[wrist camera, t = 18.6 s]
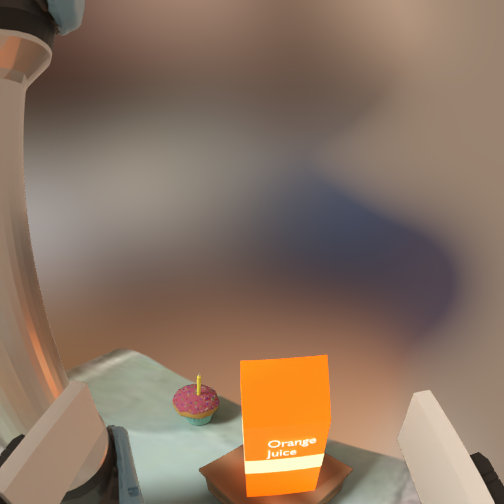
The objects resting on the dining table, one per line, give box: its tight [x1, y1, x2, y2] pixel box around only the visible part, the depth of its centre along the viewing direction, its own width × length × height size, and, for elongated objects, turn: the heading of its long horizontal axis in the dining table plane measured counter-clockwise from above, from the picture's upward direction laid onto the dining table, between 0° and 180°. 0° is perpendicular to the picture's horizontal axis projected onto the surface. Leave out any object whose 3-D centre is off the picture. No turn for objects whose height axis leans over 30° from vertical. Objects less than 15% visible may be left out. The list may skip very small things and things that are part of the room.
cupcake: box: [173, 374, 219, 425], centre depth 51 cm, size 9×8×12 cm
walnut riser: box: [199, 445, 353, 504], centre depth 34 cm, size 15×15×6 cm
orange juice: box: [240, 355, 331, 497], centre depth 31 cm, size 8×9×20 cm
